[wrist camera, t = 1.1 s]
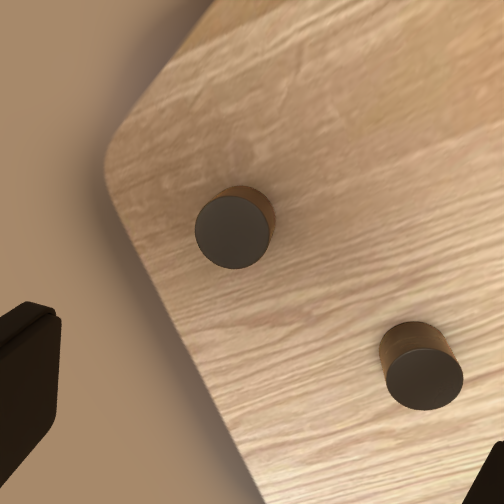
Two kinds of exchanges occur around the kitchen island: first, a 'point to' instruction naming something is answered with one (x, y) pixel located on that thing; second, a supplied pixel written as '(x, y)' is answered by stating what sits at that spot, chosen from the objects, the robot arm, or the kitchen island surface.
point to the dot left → (235, 227)
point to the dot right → (420, 366)
